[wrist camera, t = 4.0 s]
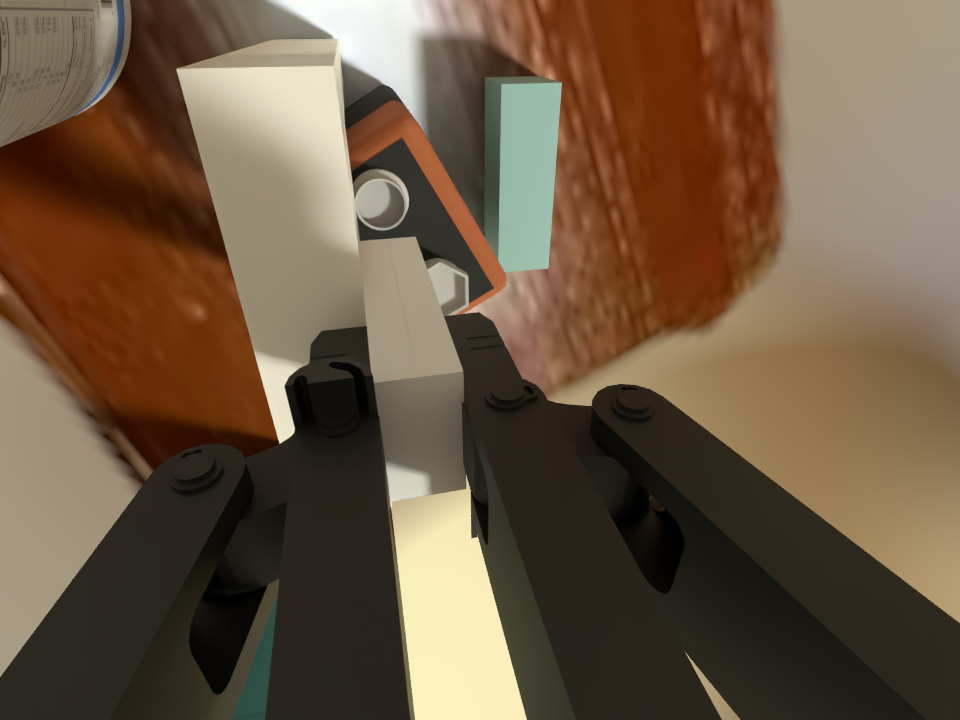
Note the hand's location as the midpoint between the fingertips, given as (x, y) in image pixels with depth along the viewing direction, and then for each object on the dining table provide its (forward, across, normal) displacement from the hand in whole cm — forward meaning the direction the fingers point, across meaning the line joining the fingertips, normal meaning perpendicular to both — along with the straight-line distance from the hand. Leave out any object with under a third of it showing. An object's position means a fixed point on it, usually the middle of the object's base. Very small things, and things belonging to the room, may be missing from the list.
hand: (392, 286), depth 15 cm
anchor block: (+12, +7, 0) cm, 14 cm away
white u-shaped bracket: (+12, -2, 0) cm, 12 cm away
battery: (+12, +1, 0) cm, 12 cm away
